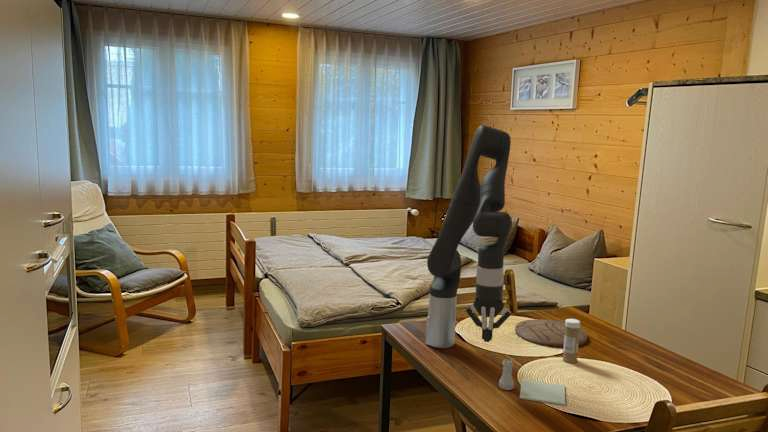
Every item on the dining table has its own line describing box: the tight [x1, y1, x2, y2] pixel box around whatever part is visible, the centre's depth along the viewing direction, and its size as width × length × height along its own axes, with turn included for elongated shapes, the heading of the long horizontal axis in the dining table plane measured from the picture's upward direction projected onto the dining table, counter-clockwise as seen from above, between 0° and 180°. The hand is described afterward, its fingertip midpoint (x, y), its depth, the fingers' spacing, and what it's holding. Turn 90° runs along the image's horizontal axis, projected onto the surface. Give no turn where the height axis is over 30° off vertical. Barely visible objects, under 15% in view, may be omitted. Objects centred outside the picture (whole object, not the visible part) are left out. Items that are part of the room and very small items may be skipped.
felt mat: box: [519, 378, 566, 406], centre depth 164 cm, size 12×12×1 cm
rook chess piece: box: [498, 358, 515, 391], centre depth 166 cm, size 4×4×8 cm
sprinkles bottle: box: [562, 318, 581, 364], centre depth 187 cm, size 5×5×14 cm
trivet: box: [514, 318, 588, 349], centre depth 211 cm, size 25×25×2 cm
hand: (487, 340), depth 167 cm, fingers closed
